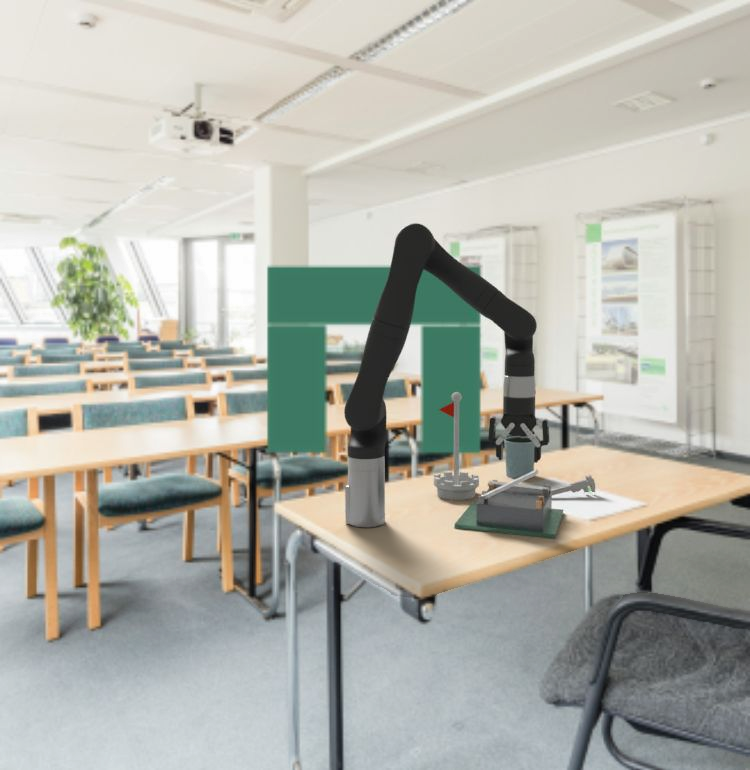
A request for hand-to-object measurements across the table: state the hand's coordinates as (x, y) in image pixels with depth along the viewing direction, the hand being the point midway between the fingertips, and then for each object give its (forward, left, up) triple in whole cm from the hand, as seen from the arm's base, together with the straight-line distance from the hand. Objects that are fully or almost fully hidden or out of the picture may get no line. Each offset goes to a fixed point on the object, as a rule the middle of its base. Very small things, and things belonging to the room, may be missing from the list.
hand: (518, 460), depth 164 cm
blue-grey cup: (-8, +53, -17) cm, 56 cm away
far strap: (-2, +12, -10) cm, 16 cm away
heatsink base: (-2, +6, -17) cm, 18 cm away
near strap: (-2, 0, -7) cm, 7 cm away
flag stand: (-22, +25, -17) cm, 37 cm away
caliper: (+7, +32, -17) cm, 37 cm away
